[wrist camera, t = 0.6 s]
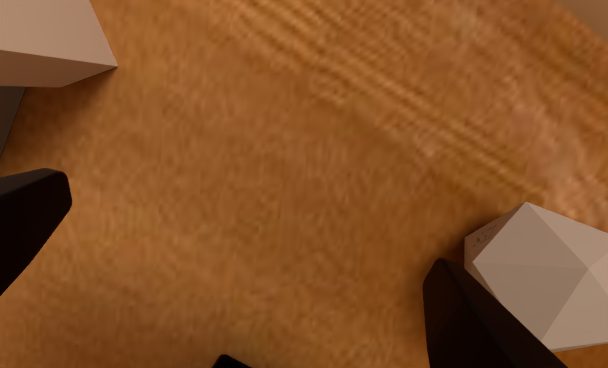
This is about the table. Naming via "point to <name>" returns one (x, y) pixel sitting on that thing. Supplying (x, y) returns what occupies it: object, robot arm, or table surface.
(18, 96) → the plate
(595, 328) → the die
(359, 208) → the table surface
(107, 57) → the tall white pillar block
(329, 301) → the table surface
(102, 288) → the table surface
